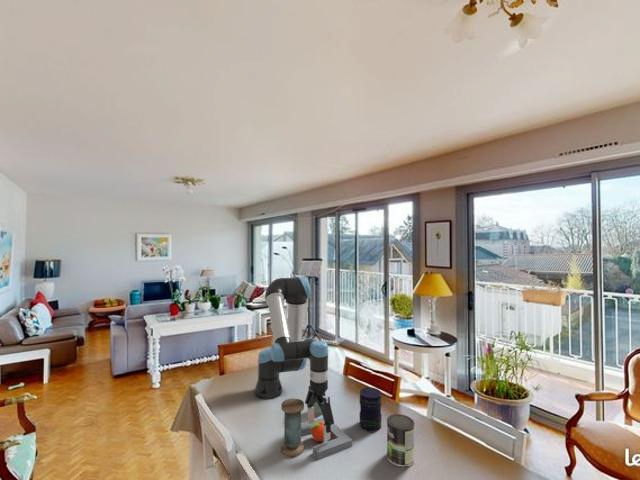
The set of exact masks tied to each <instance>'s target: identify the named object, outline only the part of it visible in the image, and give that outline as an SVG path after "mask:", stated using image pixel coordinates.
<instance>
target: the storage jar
mask: <svg viewBox="0 0 640 480" xmlns="http://www.w3.org/2000/svg"><path fill="white" fill-rule="evenodd" d="M359 406H360V409H359V427H360V429H362V430H364V431H367V432H371V433H372V432H379V431H380V430H381V429H382V421H383V420H382V412H381V411H382V391H381V390H380V389H378V388H375V387H369V386H368V387H363V388H361V389H360V390H359Z"/></svg>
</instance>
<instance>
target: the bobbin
mask: <svg viewBox="0 0 640 480" xmlns="http://www.w3.org/2000/svg"><path fill="white" fill-rule="evenodd" d="M304 409H305V401H303V400H302V399H300V398H292V397H291V398H287V399H284V400H283V401H282V402H281V411H282V412H284V415H283V416H284V418H283V419H284V421H283V424H284V425H283V427H284V428H283V430H284V431H283V434H284V435H283V442H282V443H281V445H280V452H281V454H282V455H283V456H285V457H288V458H297V457H299V456H301V455H302V454H303V453H304V449H305V447H304V442H303V441H302V439H301V438H302V436H301V425H302V423H301V422H302V412H303V411H304Z"/></svg>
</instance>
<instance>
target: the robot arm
mask: <svg viewBox="0 0 640 480" xmlns="http://www.w3.org/2000/svg"><path fill="white" fill-rule="evenodd" d="M311 291H312V290H311V286H310V283H309V280H308V279H307V278H306V277H300V276H299V277H279V278H276V279H274V280H273V281H271V282H270V283H269V285H268V287H267V288H266V290H265V295H264V299H265V304H266V305H267V306H268V311H269V318H270V325H271V330H272V335H273V342H274V343H272V344H271V345H270V347H267V348H265V349H263V350H260V352H259V353H258V357H257V358H258V359H257V381H256V384H255V388H254V395H255V397H257V398H259V399H262V400H264V399H265V400H267V399H275V398H278V397H280V395H282V393H283V386H282V382H281V379H280V374H281V373H288V372H290V373H291V372H299V371H302V370H303V369H305V367H306V364H307V360H308V359H309V385H308V391H307V394H306V397H305V401H304V405H306V407H307V423H308V424H311V423H314V420H315V416H314V407H312V406H314V404H315V402H317V403H318V405H319V407H320V408H321V412H322V415H321V416H322V418H324V422H325V423H324V440H323V441H324V442H327V441H330V440H331V436H330V432H331V425H332V424H335V420H334V415H333V411H332V406H331V397H330V396H326V395H327V394H325V392H326V393H327V391H328V387H329V381H328V380H329V378H328V377H329V367H328V366H329V365H328V364H329V347H328V343H327V341H324V340H316V339H314V338H312V337H307V338H305V339H304V340H302V339H303V321H304V306H305V305H306V304H307V302H308V301H307V300H309V299H310V298H311V294H312V293H311ZM284 301H285V303H286V304H287V315H286V310H285V306H284ZM321 403H323V404H321Z"/></svg>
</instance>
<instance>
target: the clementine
mask: <svg viewBox="0 0 640 480" xmlns="http://www.w3.org/2000/svg"><path fill="white" fill-rule="evenodd" d="M311 429H312V431H311V430H310V431H311V432H312V433H311V436H312V438H313V440H315V441H316V442H323V441H324V423H322V422H317V423H315V424H314V425H313V426H312V428H311Z"/></svg>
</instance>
